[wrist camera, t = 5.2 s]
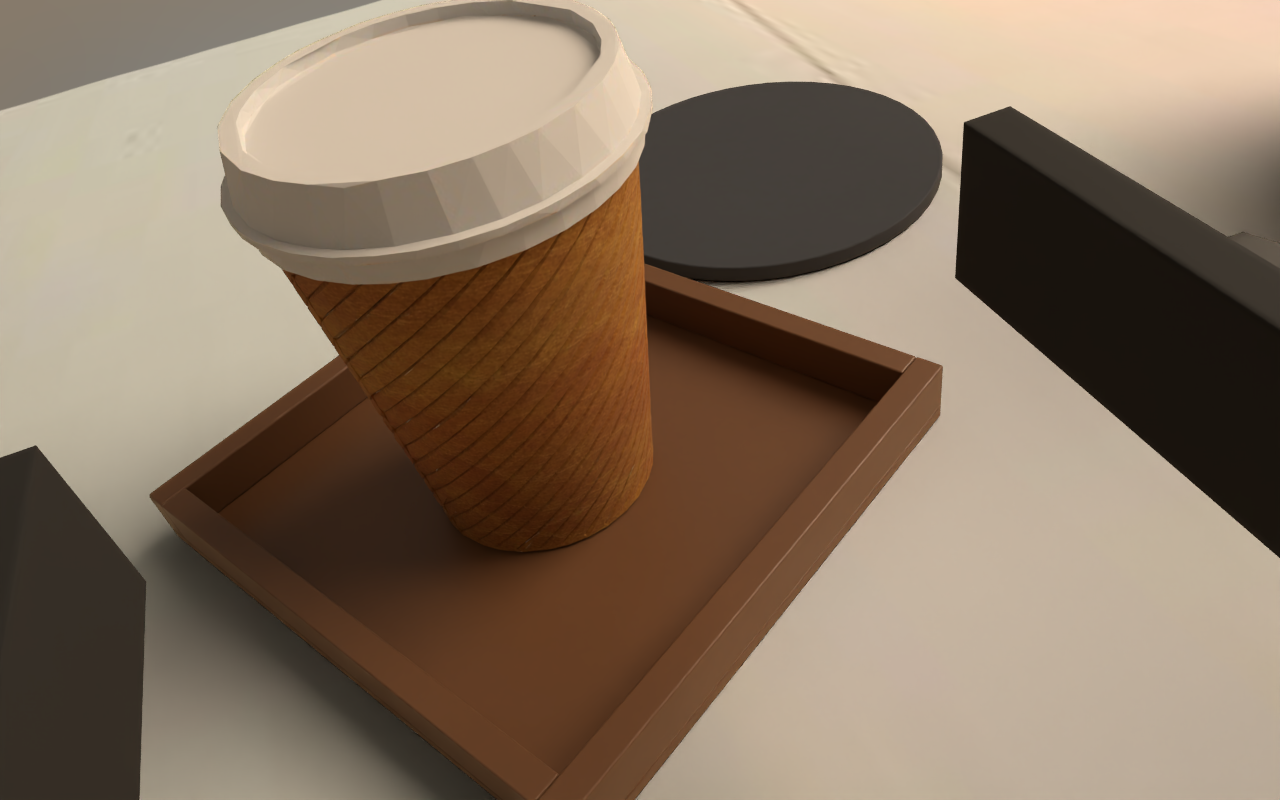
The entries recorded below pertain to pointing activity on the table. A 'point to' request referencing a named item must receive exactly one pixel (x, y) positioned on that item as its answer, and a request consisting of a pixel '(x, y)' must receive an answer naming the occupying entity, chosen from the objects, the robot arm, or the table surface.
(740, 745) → the table surface
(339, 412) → the tray
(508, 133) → the disposable coffee cup
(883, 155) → the coaster
